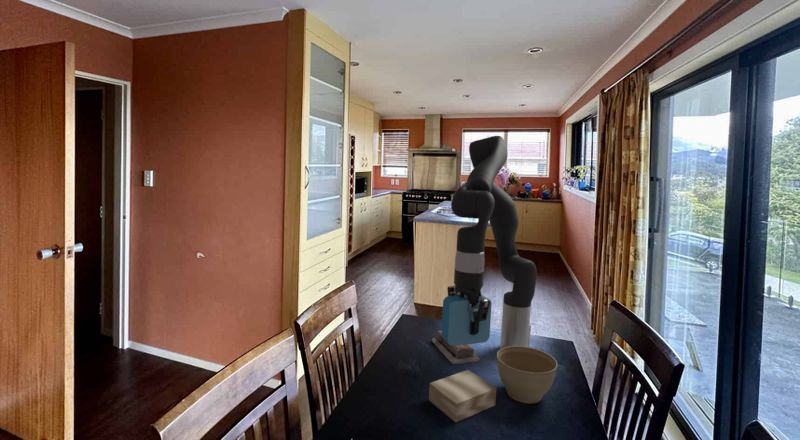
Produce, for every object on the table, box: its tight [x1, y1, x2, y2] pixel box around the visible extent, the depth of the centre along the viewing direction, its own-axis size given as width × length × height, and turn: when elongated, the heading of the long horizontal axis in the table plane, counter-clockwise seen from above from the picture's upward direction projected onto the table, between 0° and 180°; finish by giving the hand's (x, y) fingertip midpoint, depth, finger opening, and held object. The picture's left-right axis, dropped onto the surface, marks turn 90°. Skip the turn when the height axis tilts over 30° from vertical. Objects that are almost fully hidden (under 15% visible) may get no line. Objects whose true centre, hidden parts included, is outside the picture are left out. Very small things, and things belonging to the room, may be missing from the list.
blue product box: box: [441, 293, 492, 346], centre depth 104 cm, size 12×4×12 cm, turn 108°
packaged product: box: [431, 329, 481, 365], centre depth 138 cm, size 18×5×10 cm
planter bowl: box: [496, 346, 558, 404], centre depth 112 cm, size 16×16×11 cm
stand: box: [428, 369, 497, 423], centre depth 107 cm, size 14×11×5 cm
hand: (465, 329), depth 105 cm, fingers closed on blue product box, 5 cm apart
